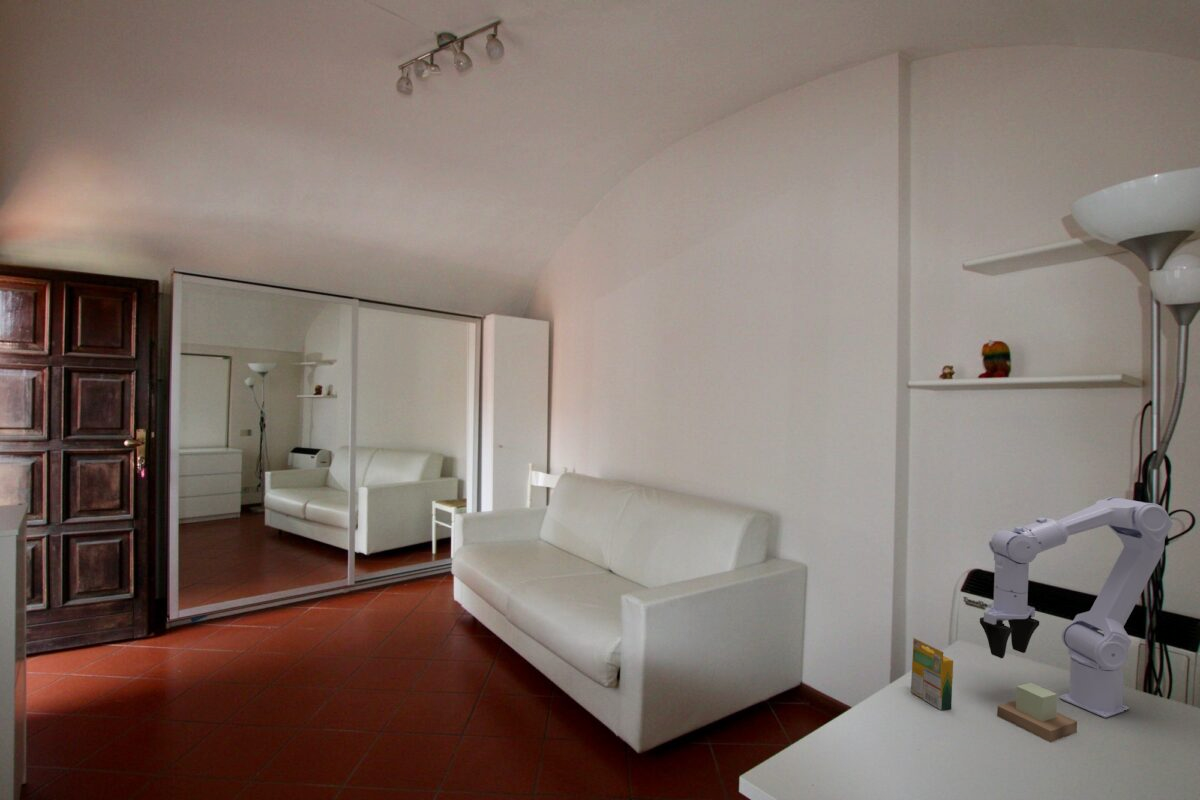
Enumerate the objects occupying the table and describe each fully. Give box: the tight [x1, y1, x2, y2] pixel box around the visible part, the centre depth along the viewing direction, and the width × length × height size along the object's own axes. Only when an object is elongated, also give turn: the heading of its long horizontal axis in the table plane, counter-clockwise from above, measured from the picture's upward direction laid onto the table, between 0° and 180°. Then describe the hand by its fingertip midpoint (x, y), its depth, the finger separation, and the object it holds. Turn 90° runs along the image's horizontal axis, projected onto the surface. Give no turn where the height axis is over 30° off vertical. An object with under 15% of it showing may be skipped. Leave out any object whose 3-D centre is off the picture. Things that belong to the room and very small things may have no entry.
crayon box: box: [910, 637, 954, 711], centre depth 113 cm, size 7×3×12 cm, turn 17°
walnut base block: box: [996, 699, 1078, 743], centre depth 106 cm, size 9×9×2 cm
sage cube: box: [1015, 682, 1058, 722], centre depth 106 cm, size 4×4×4 cm
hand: (1008, 653), depth 115 cm, fingers open, 7 cm apart
